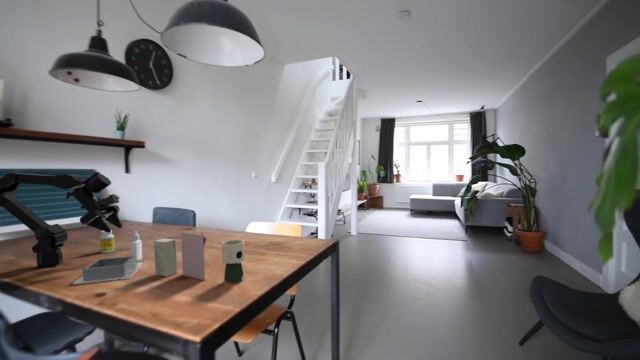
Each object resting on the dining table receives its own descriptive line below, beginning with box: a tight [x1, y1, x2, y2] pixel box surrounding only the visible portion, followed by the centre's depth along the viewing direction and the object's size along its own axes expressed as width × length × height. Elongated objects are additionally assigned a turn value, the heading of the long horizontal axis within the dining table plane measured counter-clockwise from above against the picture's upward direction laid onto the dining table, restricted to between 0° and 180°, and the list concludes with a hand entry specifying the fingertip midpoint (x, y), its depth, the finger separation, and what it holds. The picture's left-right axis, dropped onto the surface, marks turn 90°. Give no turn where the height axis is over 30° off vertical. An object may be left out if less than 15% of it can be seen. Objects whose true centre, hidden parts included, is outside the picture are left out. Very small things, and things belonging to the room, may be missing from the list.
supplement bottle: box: [99, 229, 115, 254], centre depth 132 cm, size 5×5×10 cm
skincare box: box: [153, 238, 178, 277], centre depth 102 cm, size 6×4×12 cm
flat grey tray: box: [72, 255, 144, 286], centre depth 103 cm, size 16×16×4 cm
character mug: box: [221, 239, 246, 283], centre depth 95 cm, size 11×7×13 cm, turn 171°
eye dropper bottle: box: [129, 230, 143, 263], centre depth 118 cm, size 4×6×12 cm
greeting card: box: [181, 229, 207, 281], centre depth 99 cm, size 11×7×15 cm, turn 26°
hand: (115, 229), depth 117 cm, fingers open, 9 cm apart
